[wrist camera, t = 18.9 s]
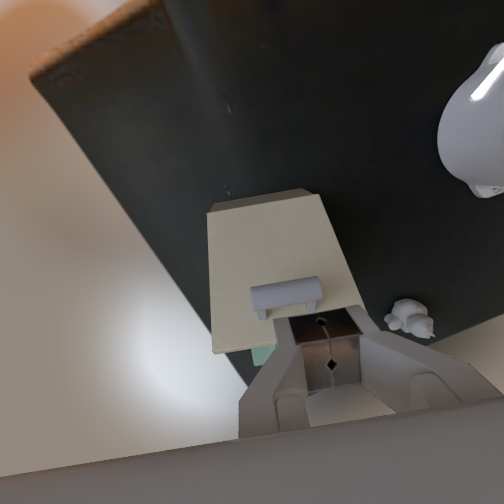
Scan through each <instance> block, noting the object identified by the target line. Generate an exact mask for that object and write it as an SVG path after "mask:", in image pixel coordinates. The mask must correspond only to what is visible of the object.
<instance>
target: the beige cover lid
mask: <svg viewBox="0 0 504 504" xmlns="http://www.w3.org/2000/svg"><path fill="white" fill-rule="evenodd" d="M207 227H208V253H209V278H210V303H211V328H212V351H213V353H214V354H220V353H227V352H233V351H239V350H245V349H251V348H257V347H263V346H269V345H275V344H277V343H276V337H275V331H274V325H273V319H275V318H280V317H286V316H294V315H300V314H307V313H314V312H316V313H317V312H322V311H327V310H333V309H338V308H343V307H347V306H352V305H357V304H358V305H360V306H361V307H362V308H363V309H364V311H365V312H366V313H367V311H366V309H365V306H364V304H363V301H362V299H361V296H360V294H359V292H358V289H357V287H356V284H355V282H354V279H353V277H352V274H351V272H350V270H349V267H348V265H347V262H346V260H345V257H344V255H343V252H342V250H341V248H340V245H339V243H338V240H337V238H336V235H335V233H334V230H333V228H332V226H331V223H330V221H329V218H328V216H327V213H326V211H325V208H324V206H323V204H322V201H321V199H320V196H319V194H314V195H308V196H303V197H297V198H291V199H285V200H280V201H274V202H268V203H262V204H256V205H251V206H245V207H239V208H233V209H228V210H222V211H216V212H210V213H207Z"/></svg>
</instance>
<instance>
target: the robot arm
mask: <svg viewBox="0 0 504 504" xmlns="http://www.w3.org/2000/svg"><path fill="white" fill-rule="evenodd" d="M437 143H438V151H439V155H440V158H441V160H442V162H443V164H444V166H445V167H446V169H447V170H448V171H449V172H450V173H451V174H452V175H454V176H455V177H457V178H458V179H460V180H462V181H464V182H466V183H467V184H468V185H469V187H470V189H471V190H472V192H473V193H474V194H475V196H477V197H479V198H488V197H491V196H494V195H497V194H500V193H502V192H504V42H503V43H500V44H497V45H495V46H494V47H493V48H492V49H491V50H490V51H489V53H488V54H487V56H486V57H485V59H484V60H483V62H482V64H481V66H480V67H479V69H478V70H477V71H476V72H475V73H474V74H473V75H472V76H471V77H470V78H468V79H467V80H466V81H465V82H464V83H463V84H462V85H461V86H460V87H459V88H458V89H457V90H456V92H455V93H454V94H453V96H452V97H451V99H450V100H449V102H448V103H447V105H446V107H445V109H444V112H443V114H442V117H441V120H440V123H439V128H438V136H437ZM273 325H274V331H275V337H276V343H277V349H274V350H273V352H272V353H271V355H270V356H269V358H268V359H267V361H266V362H265V364H264V365H263V367H262V368H261V369H260V371H259V372H258V374H257V375H256V377H255V378H254V380H253V381H252V383H251V384H250V386H249V387H248V389H247V390H246V392H245V393H244V395H243V396H242V398H241V399H240V400H239V439H235V440H229V441H223V442H216V443H211V444H204V445H197V446H191V447H185V448H179V449H172V450H166V451H160V452H154V453H148V454H142V455H135V456H129V457H123V458H116V459H110V460H104V461H98V462H91V463H85V464H79V465H73V466H66V467H60V468H54V469H48V470H42V471H36V472H29V473H23V474H17V475H10V476H4V477H0V504H504V395H503V394H502V393H501V392H500V391H499V390H498V389H497V388H495V387H494V386H493V385H492V384H491V383H490V382H489V381H488V380H487V379H486V378H485V377H483V376H482V375H481V374H480V373H479V372H478V371H477V370H476V369H474V368H473V367H472V366H471V365H470V364H468V363H465V362H463V361H460V360H458V359H455V358H453V357H450V356H448V355H445V354H443V353H440V352H438V351H435V350H433V349H430V348H428V347H425V346H423V345H420V344H418V343H415V342H413V341H410V340H408V339H405V338H403V337H400V336H398V335H395V334H393V333H391V332H388V331H381V330H380V329H379V328H378V326H377V325H376V324H375V323H374V322H373V320H372V319H371V318H370V317H369V316H368V314H367V313H366V312H365V311H364V309H363V308H362V307H361V306H360V305H358V304H357V305H352V306H347V307H343V308H338V309H333V310H327V311H322V312H317V313H316V312H314V313H307V314H300V315H294V316H286V317H280V318H275V319H273ZM352 385H361V386H362V387H364V388H365V389H366V390H368V391H369V392H370V393H372V394H373V395H374V396H375V397H377V398H378V399H380V400H381V401H382V402H383V403H385V404H386V405H387V406H388V407H390V408H391V409H392V410H394V411H395V412H396V414H390V415H384V416H378V417H371V418H365V419H359V420H353V421H346V422H341V423H334V424H329V425H322V426H316V427H310V424H309V420H308V417H307V413H306V409H305V406H304V405H305V402H306V399H307V396H308V393H311V392H316V391H321V390H326V389H332V388H338V387H346V386H352Z"/></svg>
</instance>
